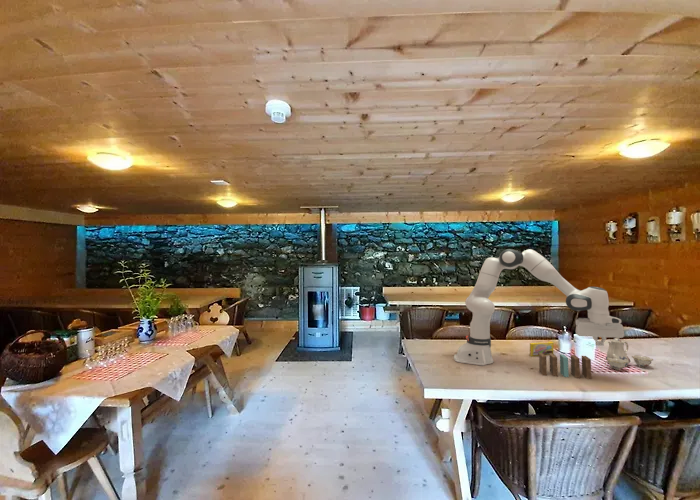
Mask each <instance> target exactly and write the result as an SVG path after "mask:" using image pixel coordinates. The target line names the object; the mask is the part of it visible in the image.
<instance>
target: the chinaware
mask: <svg viewBox="0 0 700 500" xmlns="http://www.w3.org/2000/svg"><path fill="white" fill-rule="evenodd" d="M607 343H608V349H607V352H606V356H605V359H606V361H605V362H604V365H605V366H606V367H608V368H609V367H610V369H613V370H614V369H615V370H614V371H618V370H620V371H621V370H622V369H624V368H626V367H628V364H630V363H631V359H630V358H629V356H628V353H627V352H628V350H629V344H628V342H627V341H624V340H622V338H621V339H620V338H616V337H613V339H610V340H609V341H608V342H607ZM624 344H625V347H626V348H625V347H624ZM631 358H633V360H634V363H635V364H636V365H638V367H639V368H642V369H647V367H649V366H651V363H652V361H654V359H653V358H651V357H649V356H642V355H637V354H635V355H634V356H633V355H631ZM606 363H608V364H609V366H608V365H606Z"/></svg>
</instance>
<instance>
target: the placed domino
mask: <svg viewBox="0 0 700 500" xmlns="http://www.w3.org/2000/svg"><path fill="white" fill-rule="evenodd" d="M559 373H560V374H561V376H562V377H563V378H569V377H570V375H569V357H567V356H566V355H565V354H561V353H559Z"/></svg>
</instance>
